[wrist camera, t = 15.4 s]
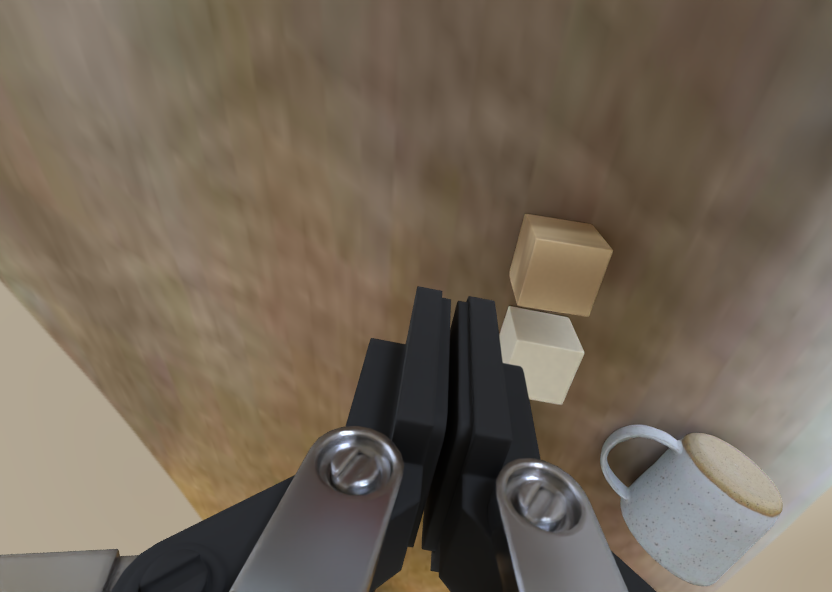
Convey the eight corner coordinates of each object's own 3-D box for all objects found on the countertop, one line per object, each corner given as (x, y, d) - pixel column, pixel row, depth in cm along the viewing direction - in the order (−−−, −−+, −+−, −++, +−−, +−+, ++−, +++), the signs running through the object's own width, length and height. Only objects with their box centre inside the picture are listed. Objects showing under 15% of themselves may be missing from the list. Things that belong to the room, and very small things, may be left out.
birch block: (524, 213, 29) (536, 238, 25) (592, 223, 29) (614, 250, 25) (508, 274, 31) (517, 306, 27) (572, 284, 31) (589, 317, 27)
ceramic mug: (753, 444, 36) (822, 535, 30) (685, 509, 40) (732, 603, 33) (633, 395, 35) (675, 479, 28) (573, 467, 39) (599, 556, 32)
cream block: (508, 305, 32) (516, 339, 28) (569, 317, 32) (585, 352, 28) (492, 355, 34) (497, 393, 30) (549, 366, 34) (562, 405, 30)
